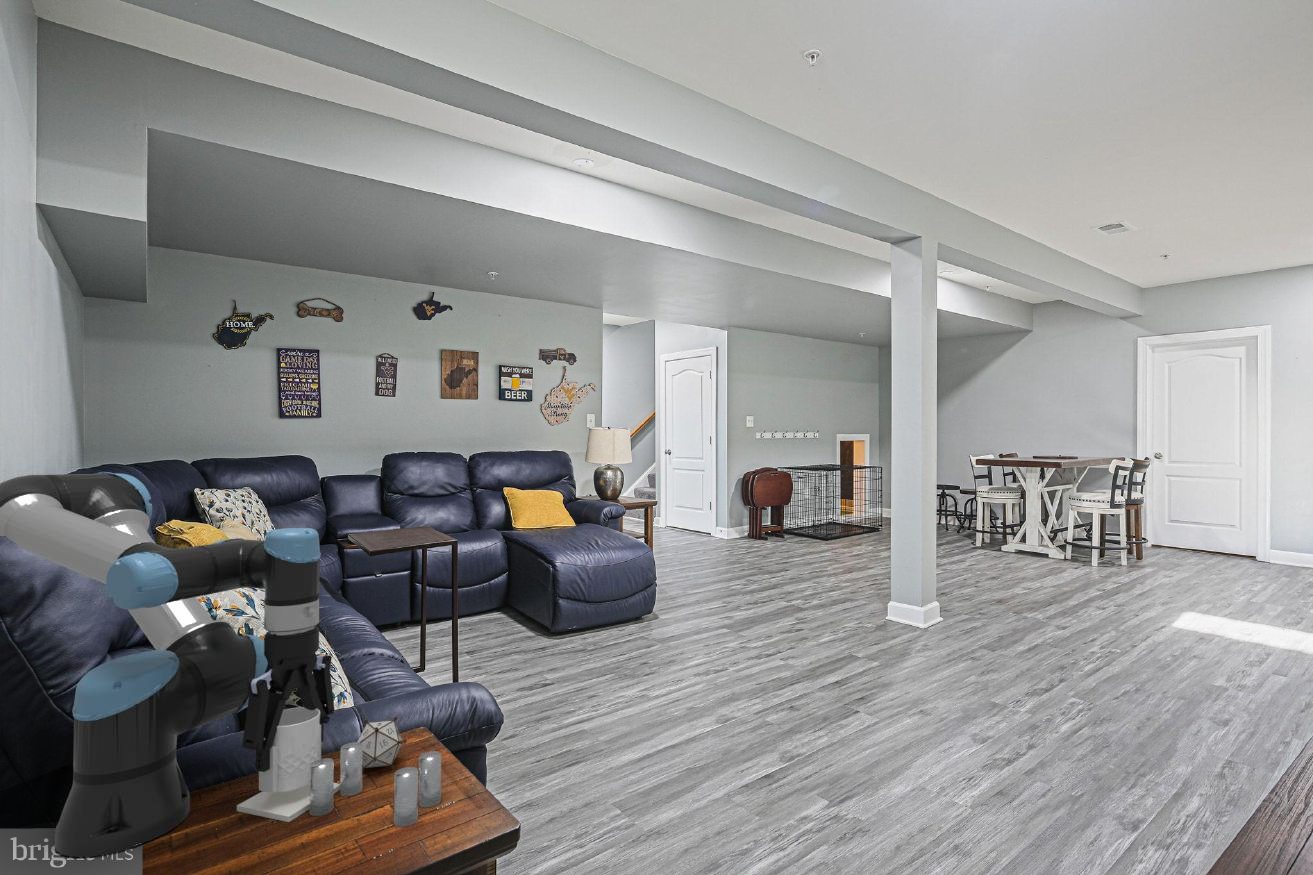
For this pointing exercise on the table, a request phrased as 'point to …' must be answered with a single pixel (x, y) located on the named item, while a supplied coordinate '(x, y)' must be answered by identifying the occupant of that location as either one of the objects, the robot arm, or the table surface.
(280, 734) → the white cup
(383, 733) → the game die
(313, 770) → the spacer posts
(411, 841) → the table surface
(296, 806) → the coaster
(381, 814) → the table surface
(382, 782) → the table surface
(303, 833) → the table surface
